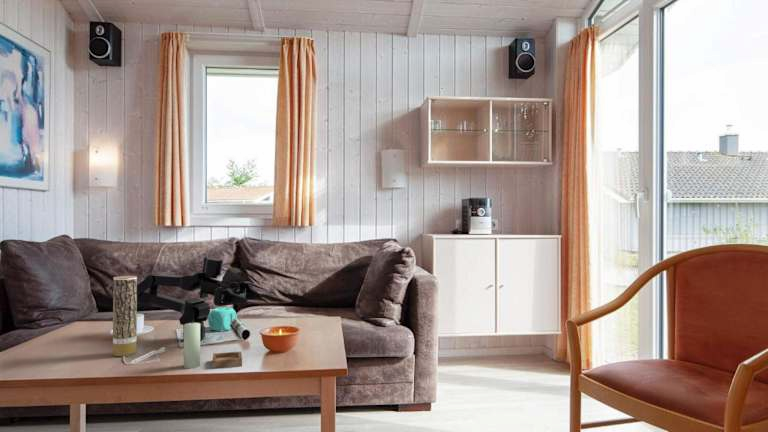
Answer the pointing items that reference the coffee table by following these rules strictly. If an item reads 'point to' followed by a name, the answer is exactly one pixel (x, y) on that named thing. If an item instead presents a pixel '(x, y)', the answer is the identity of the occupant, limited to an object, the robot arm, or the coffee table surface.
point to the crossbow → (145, 357)
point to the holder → (227, 359)
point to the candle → (191, 345)
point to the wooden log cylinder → (124, 315)
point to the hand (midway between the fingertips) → (254, 298)
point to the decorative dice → (221, 318)
